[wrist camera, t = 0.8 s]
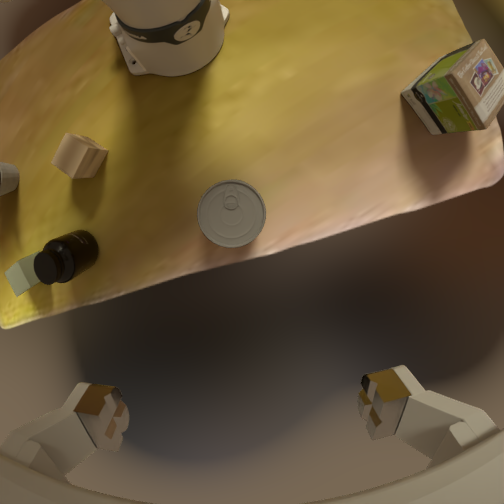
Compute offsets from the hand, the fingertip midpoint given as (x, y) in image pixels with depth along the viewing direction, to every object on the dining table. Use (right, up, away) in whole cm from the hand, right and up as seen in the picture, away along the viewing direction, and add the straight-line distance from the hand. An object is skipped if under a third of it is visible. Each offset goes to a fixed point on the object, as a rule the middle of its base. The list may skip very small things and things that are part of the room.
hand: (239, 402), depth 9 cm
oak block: (-26, +20, +32) cm, 46 cm away
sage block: (-41, +2, +36) cm, 55 cm away
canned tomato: (-2, +12, +36) cm, 38 cm away
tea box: (+34, +34, +32) cm, 58 cm away
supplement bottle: (-29, +5, +36) cm, 46 cm away
